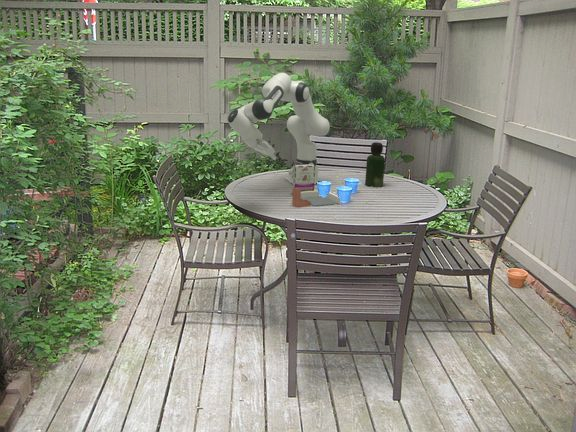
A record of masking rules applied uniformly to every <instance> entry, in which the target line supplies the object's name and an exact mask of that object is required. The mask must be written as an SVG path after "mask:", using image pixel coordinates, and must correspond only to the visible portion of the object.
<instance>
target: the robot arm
mask: <svg viewBox="0 0 576 432" xmlns="http://www.w3.org/2000/svg"><path fill="white" fill-rule="evenodd" d="M261 92H262V96H263V97H260V98H258V99H256V100H254V101H251V102H249V103H247V104H245V105H242V106H241V107H240V108H236V109H233V110H232V111H231V112H230V113H229V114H228V116H227V122H228V125H229V126H230V127H231V129H232V130H233V131H234V132H235V133H236V134H237V136H239V137H241V140H242V142H244V143H245V144H246V145H247V146H248V147H249V148H252V149H253V150H254V151H256V152H259V153H261V154H262V155H263V156H264V157H265V158H268V157H270V159H272V160H273V161H276V160H277V159H278V158H277V156H276V154H275V153H276V150H275V149H274V148H273V147H272V145H270V144H269V142H267V141H266V140H264V138H263V136H264V135H263V133H262V132H261V131H260V130H259V129H258V128H257V127H256V126H255V124H256V123H258V122H261V121H263V120H268V119H269V118H270V117H271V116H272V115H273V113H274V109H275V107H276V106H277V105H278V103H279V102H281V101H283V102H287V103H289V102H290V103H291V105H292V108H293V109H292V110H293V113H294V114H295V115H291V116H289V117H288V119H287V121H286V128H287V130H288V131H289V132H290V134H291V135H292V136H293V138H294V140H295V141H296V147H297V148H296V153H297V155H296V158H295V164H294V165H304V164H313V165H314V166H315V178H314V185H317V184H318V183H319V182H318V181H320V182H321V180H320V179H319V168H318V167H317V163H318V162H317V160H318V159H317V145H316V144H315V142H313V141H311V139H310V137H312V136H313V137H323V136H326V135H328V134H329V131H330V129H331V127H330V126H331V124H330V121H329V120H328V119H327V118H325V117H323V116H322V115H321V114H320V113H319V112H318V111H317V109H316V108H315V106H314V104H313V100H312V96H311V94H310V93H311V92H310V87H309V85H308V84H307V83H305V82H304V81H302V80H292V77H291V76H290V75H289V74H287V73H286V72H279V73H277V74H275V75H274V76H272V77H271V78H270V79H268V80H267V81H266V82H265V84H264V85H263V86H262V88H261ZM285 180H286V181H288V182H289V183H290V184H292V185H293V166H292V167H290V168H289V171H288V176H285ZM317 182H318V183H317ZM316 183H317V184H316Z"/></svg>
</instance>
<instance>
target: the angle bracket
mask: <svg viewBox="0 0 576 432" xmlns="http://www.w3.org/2000/svg"><path fill="white" fill-rule="evenodd" d="M292 190H293V194H292V199H291V200H292V204H291V205H292V206H294V207H295V208H302V207H303V208H305V207H306V208H307V207H312V205H311V202H309V201H307V200H300V199H301V189H299V188H297V187H295V188H293V187H292Z"/></svg>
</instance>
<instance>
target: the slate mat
mask: <svg viewBox="0 0 576 432" xmlns="http://www.w3.org/2000/svg"><path fill="white" fill-rule="evenodd" d="M300 200H307V201H309V202H311V207H314V206H315V207H323V206H325V205H326V206H335V205H334V204H337V205H340V204H339V203H337V202H335V201H333V200H331V199H329V198H322V197H307V198H301V199H300Z"/></svg>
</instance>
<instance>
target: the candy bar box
mask: <svg viewBox="0 0 576 432" xmlns="http://www.w3.org/2000/svg"><path fill="white" fill-rule="evenodd" d="M292 167H293V184H292V193H291V194H292V195H293V188H295V187H297V188H299V189H301V192H304V191H315V184H314V178H315V166H314V165H313V164H304V165H295V164H293V165H292Z"/></svg>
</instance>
